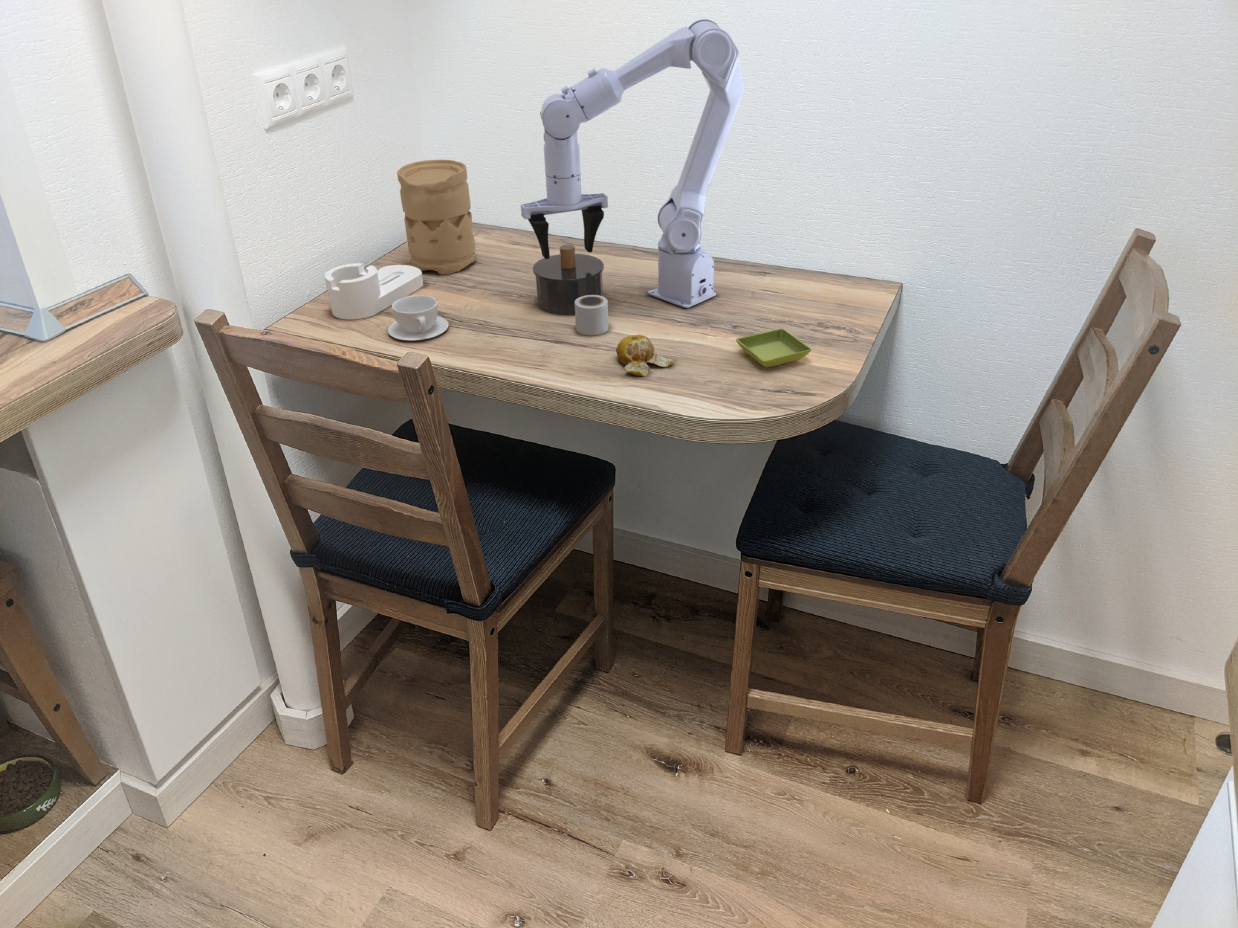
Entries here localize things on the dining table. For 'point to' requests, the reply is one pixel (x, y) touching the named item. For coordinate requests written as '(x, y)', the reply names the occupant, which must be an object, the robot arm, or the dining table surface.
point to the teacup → (416, 318)
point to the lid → (568, 266)
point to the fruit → (639, 355)
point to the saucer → (773, 347)
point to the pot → (565, 294)
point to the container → (437, 215)
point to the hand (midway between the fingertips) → (567, 253)
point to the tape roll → (591, 315)
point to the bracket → (369, 288)
